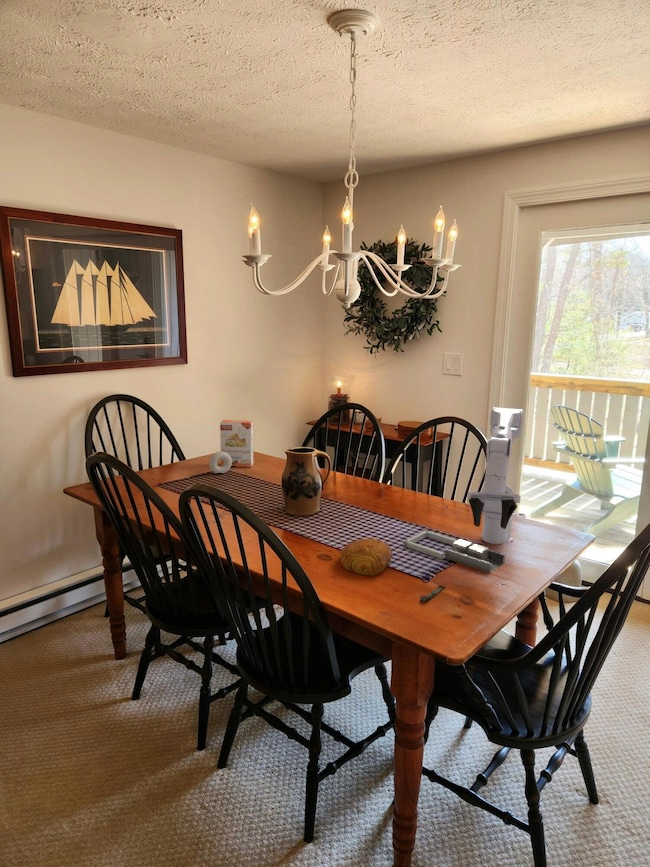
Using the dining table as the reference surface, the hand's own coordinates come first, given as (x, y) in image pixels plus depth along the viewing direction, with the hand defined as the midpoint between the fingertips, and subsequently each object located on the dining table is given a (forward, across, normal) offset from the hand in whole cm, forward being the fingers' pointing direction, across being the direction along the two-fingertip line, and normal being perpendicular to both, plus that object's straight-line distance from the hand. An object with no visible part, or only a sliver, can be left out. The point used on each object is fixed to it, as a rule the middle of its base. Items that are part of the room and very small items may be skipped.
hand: (489, 527), depth 153 cm
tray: (+7, -20, +7) cm, 23 cm away
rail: (+9, -7, +8) cm, 14 cm away
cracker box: (-21, -131, +15) cm, 134 cm away
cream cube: (+9, -6, +7) cm, 13 cm away
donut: (-14, -127, +4) cm, 128 cm away
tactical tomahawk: (+19, -8, -9) cm, 22 cm away
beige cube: (+8, -11, +7) cm, 15 cm away
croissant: (+16, -30, -12) cm, 36 cm away
